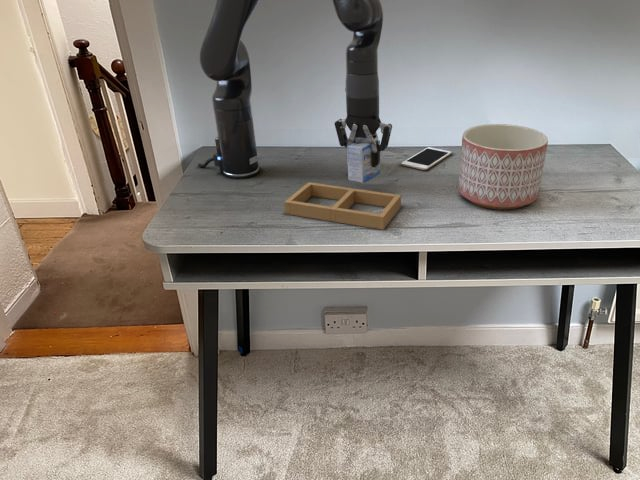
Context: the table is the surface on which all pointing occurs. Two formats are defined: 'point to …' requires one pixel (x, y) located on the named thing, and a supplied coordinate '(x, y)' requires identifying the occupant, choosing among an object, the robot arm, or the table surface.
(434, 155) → the cell phone
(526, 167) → the planter
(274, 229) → the table surface
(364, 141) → the medicine box
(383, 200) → the wooden divided frame
